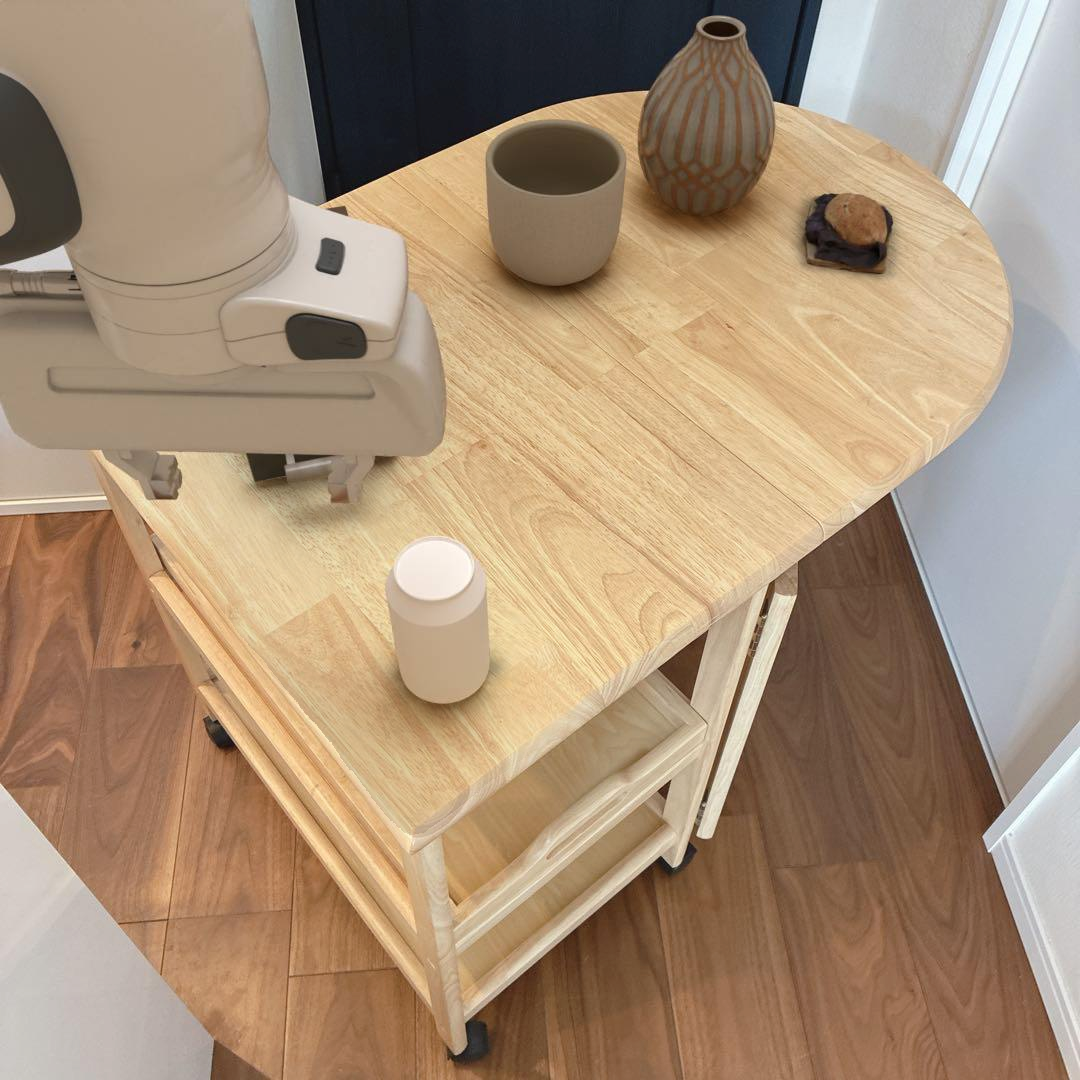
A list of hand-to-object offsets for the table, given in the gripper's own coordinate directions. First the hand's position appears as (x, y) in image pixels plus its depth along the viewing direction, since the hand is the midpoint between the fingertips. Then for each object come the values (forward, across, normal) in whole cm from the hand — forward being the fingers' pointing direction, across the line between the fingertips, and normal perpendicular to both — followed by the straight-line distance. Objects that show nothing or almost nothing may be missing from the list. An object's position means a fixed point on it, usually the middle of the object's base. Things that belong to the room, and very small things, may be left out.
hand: (257, 492), depth 55 cm
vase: (+21, +31, +59) cm, 70 cm away
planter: (+21, +16, +48) cm, 55 cm away
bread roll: (+21, +45, +52) cm, 72 cm away
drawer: (+20, -3, +24) cm, 32 cm away
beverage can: (+21, +9, +2) cm, 23 cm away
